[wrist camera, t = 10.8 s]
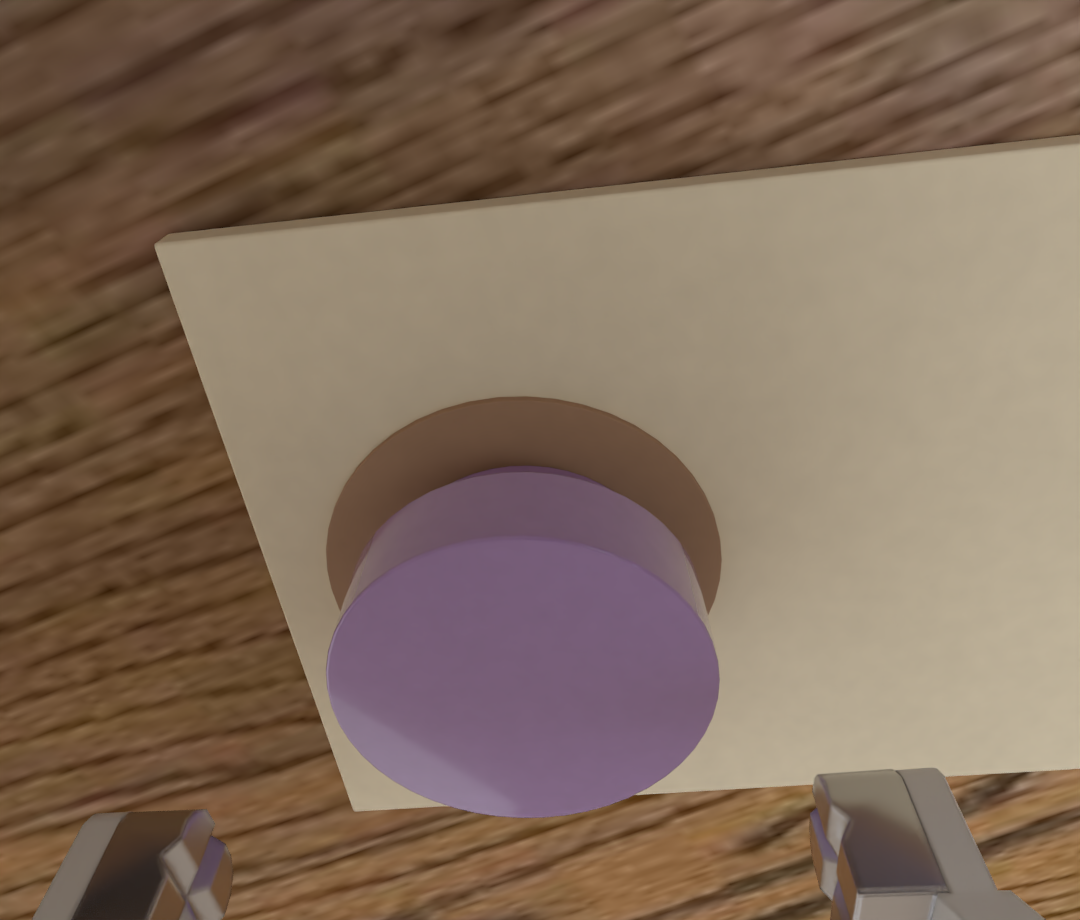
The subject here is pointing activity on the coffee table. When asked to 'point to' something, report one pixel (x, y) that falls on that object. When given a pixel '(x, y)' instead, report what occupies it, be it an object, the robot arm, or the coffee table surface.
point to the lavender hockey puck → (524, 646)
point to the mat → (706, 428)
